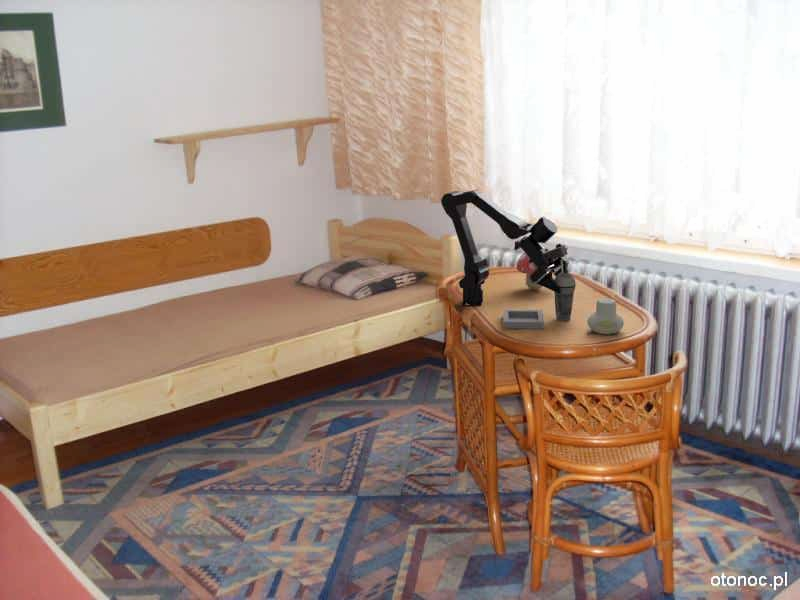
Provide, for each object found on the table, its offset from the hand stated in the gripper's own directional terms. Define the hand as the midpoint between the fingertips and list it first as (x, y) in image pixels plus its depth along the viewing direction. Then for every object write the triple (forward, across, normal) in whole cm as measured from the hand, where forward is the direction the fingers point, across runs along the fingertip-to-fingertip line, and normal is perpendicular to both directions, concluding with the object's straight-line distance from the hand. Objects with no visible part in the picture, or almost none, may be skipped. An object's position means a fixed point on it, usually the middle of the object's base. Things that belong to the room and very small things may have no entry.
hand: (566, 289), depth 282 cm
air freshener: (+18, -5, -4) cm, 19 cm away
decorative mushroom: (-9, +25, +24) cm, 36 cm away
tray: (0, -10, +14) cm, 18 cm away
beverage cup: (+7, 0, +8) cm, 10 cm away
